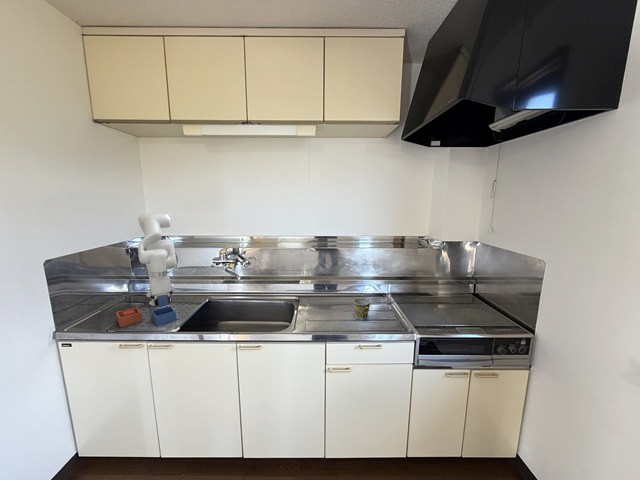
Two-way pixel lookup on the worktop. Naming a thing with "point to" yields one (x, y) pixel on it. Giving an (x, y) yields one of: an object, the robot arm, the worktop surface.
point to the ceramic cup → (361, 308)
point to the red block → (128, 312)
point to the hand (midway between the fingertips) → (162, 304)
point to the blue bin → (163, 315)
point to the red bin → (128, 317)
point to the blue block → (162, 300)
